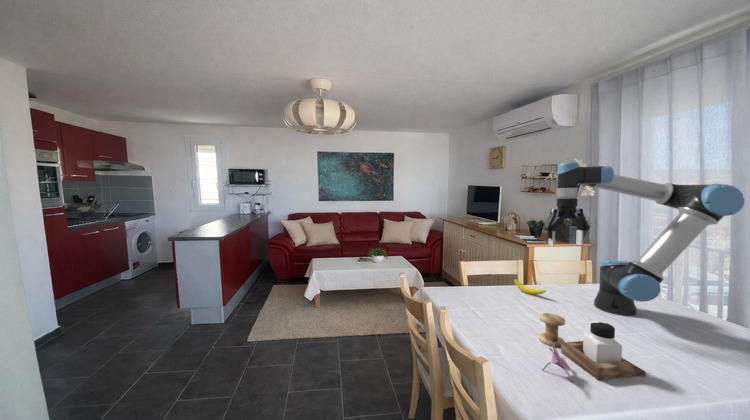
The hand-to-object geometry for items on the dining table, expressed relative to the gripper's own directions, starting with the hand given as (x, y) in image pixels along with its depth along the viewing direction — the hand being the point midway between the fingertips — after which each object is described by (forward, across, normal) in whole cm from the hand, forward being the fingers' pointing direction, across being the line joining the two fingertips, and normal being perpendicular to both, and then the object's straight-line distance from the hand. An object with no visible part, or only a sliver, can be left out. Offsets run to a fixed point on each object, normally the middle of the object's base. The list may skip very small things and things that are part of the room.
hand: (565, 245), depth 122 cm
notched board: (+32, +16, +34) cm, 49 cm away
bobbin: (+32, +22, +20) cm, 43 cm away
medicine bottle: (+31, +16, +34) cm, 48 cm away
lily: (+32, +33, +37) cm, 59 cm away
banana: (+32, -1, -25) cm, 41 cm away
